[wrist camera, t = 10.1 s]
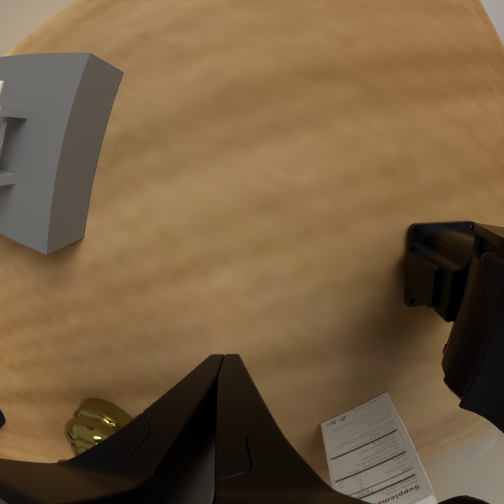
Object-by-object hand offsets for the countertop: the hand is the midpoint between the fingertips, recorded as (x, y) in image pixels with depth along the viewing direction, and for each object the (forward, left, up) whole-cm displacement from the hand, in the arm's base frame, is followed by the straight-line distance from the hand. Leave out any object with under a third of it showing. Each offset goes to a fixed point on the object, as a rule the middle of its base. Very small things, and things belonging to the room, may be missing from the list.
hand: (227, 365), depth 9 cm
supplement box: (-10, +19, -13) cm, 25 cm away
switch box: (+15, -10, -13) cm, 22 cm away
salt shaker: (+17, +18, -13) cm, 28 cm away
